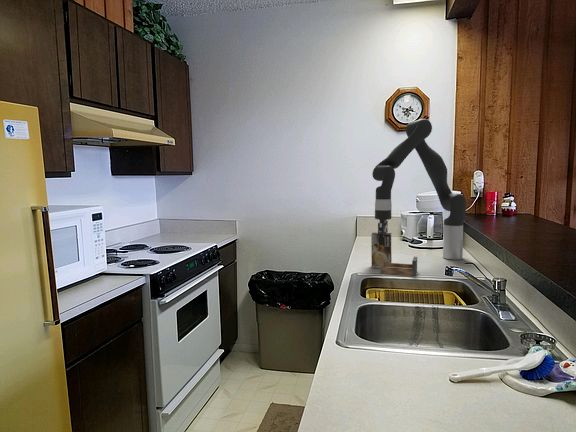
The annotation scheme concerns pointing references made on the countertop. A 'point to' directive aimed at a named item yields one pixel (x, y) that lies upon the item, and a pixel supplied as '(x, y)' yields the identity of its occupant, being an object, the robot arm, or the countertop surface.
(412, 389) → the countertop surface
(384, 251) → the coffee box
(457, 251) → the robot arm
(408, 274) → the endcap cradle
